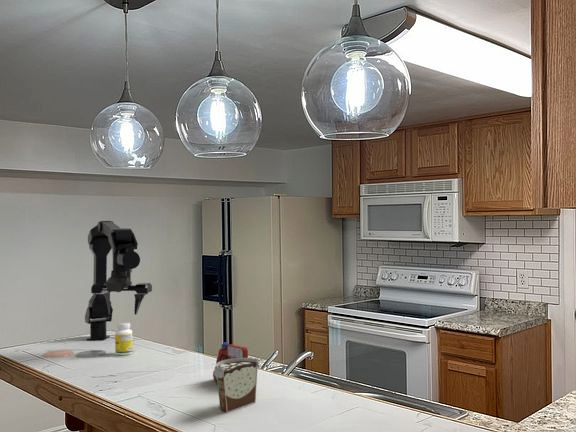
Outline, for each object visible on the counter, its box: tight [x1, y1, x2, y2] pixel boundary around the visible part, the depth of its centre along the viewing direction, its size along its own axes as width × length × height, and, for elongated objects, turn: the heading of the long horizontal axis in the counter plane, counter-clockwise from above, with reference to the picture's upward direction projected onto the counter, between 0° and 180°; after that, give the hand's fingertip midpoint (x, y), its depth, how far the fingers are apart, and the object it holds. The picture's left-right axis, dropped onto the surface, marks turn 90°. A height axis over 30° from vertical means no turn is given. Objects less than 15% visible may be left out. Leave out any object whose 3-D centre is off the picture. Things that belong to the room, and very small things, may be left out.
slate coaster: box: [76, 349, 107, 359], centre depth 193 cm, size 9×9×1 cm
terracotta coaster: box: [43, 349, 74, 359], centre depth 194 cm, size 9×9×1 cm
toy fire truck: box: [212, 342, 249, 385], centre depth 156 cm, size 7×12×10 cm, turn 41°
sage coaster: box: [109, 351, 136, 359], centre depth 193 cm, size 9×9×1 cm
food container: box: [213, 357, 260, 414], centre depth 137 cm, size 12×6×10 cm, turn 141°
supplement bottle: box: [114, 322, 134, 355], centre depth 193 cm, size 5×5×10 cm
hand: (122, 314), depth 195 cm, fingers open, 9 cm apart
